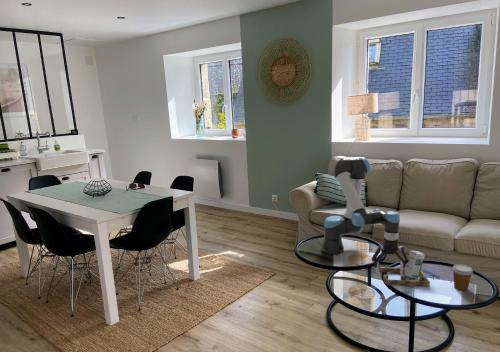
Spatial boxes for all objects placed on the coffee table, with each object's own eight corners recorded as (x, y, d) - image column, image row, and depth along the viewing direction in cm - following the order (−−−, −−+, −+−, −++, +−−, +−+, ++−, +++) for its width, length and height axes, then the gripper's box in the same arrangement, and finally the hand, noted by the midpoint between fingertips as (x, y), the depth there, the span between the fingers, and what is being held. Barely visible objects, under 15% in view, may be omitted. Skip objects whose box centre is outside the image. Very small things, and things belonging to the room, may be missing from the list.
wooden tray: (385, 285, 204) (386, 280, 203) (379, 271, 220) (379, 266, 219) (429, 287, 201) (429, 281, 200) (419, 273, 217) (420, 268, 216)
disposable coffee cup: (464, 283, 203) (466, 263, 201) (475, 292, 194) (477, 271, 192) (447, 284, 203) (449, 264, 201) (457, 293, 194) (459, 272, 191)
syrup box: (410, 277, 208) (417, 253, 207) (403, 273, 214) (410, 249, 212) (418, 278, 210) (425, 254, 209) (411, 274, 216) (418, 251, 214)
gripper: (369, 240, 207) (368, 275, 212) (416, 241, 204) (413, 276, 209) (367, 235, 215) (365, 269, 219) (411, 236, 212) (409, 270, 216)
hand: (389, 272), depth 214 cm, fingers open, 13 cm apart
